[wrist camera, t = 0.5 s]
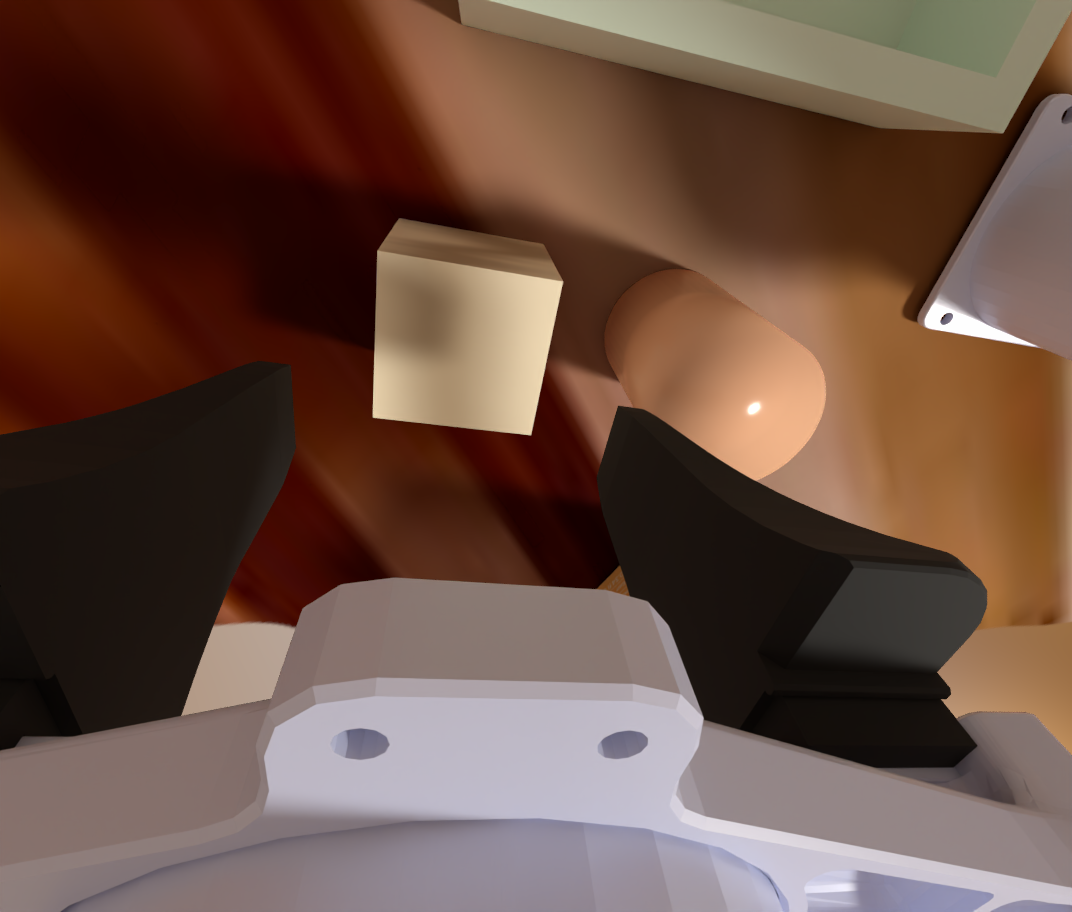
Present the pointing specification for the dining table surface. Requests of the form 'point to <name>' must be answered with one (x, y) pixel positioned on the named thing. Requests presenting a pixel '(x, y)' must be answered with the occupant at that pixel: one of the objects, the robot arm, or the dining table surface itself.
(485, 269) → the birch cube
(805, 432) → the terracotta capsule
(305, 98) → the dining table surface
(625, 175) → the dining table surface
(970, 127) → the tote
